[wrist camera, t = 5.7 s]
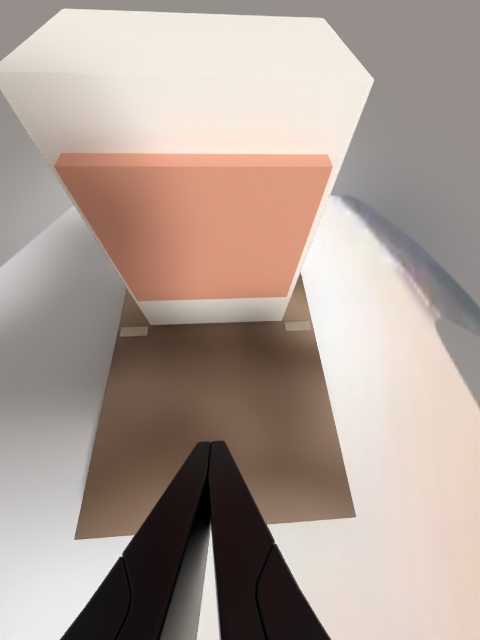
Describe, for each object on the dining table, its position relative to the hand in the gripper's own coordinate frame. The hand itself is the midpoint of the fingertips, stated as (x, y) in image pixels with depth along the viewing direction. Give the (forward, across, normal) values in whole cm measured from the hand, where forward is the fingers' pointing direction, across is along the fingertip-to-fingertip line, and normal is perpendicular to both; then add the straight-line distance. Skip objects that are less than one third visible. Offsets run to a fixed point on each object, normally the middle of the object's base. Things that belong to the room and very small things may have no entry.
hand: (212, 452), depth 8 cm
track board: (+8, 0, 0) cm, 8 cm away
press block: (+10, 0, -4) cm, 10 cm away
